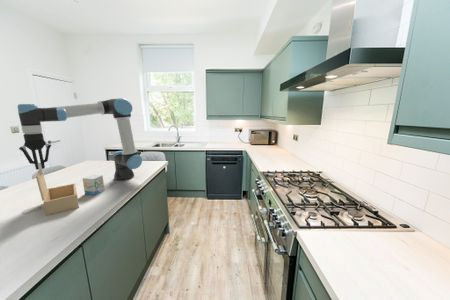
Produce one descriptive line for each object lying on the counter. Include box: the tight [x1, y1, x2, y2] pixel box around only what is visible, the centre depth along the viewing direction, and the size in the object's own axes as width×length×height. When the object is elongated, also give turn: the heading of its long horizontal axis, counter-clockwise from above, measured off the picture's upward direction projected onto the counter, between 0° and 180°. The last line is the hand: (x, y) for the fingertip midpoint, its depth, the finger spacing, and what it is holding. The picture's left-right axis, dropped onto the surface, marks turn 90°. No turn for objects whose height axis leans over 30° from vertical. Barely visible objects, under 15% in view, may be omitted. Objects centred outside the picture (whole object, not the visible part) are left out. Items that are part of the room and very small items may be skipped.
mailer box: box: [42, 183, 80, 216], centre depth 116 cm, size 14×23×8 cm, turn 39°
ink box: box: [82, 174, 106, 196], centre depth 132 cm, size 8×8×12 cm
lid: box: [35, 169, 48, 202], centre depth 109 cm, size 14×22×1 cm
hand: (41, 174), depth 108 cm, fingers closed
